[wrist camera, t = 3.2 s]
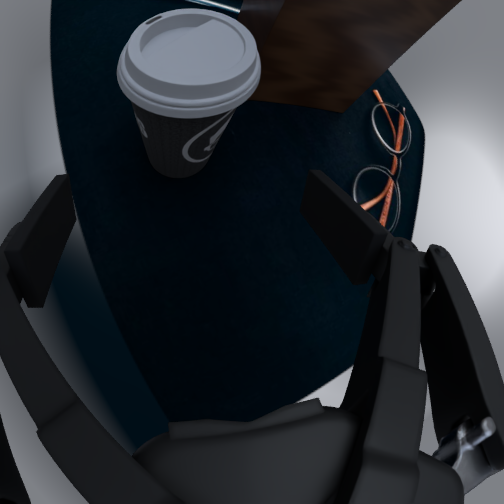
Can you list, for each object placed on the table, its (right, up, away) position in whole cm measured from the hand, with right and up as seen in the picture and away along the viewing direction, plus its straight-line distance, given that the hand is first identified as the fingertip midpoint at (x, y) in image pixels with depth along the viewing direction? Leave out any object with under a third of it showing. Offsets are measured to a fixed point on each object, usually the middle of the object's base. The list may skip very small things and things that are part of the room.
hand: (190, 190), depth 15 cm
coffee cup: (-4, +7, +13) cm, 16 cm away
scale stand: (+8, +22, +19) cm, 30 cm away
